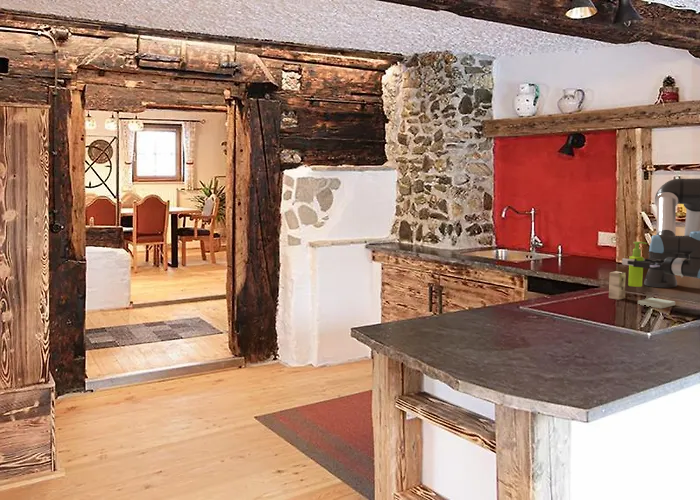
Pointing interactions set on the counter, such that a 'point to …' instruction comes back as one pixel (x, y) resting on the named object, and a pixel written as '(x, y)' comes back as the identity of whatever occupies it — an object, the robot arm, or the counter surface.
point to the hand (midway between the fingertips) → (626, 260)
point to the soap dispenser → (636, 268)
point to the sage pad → (656, 303)
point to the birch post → (617, 285)
